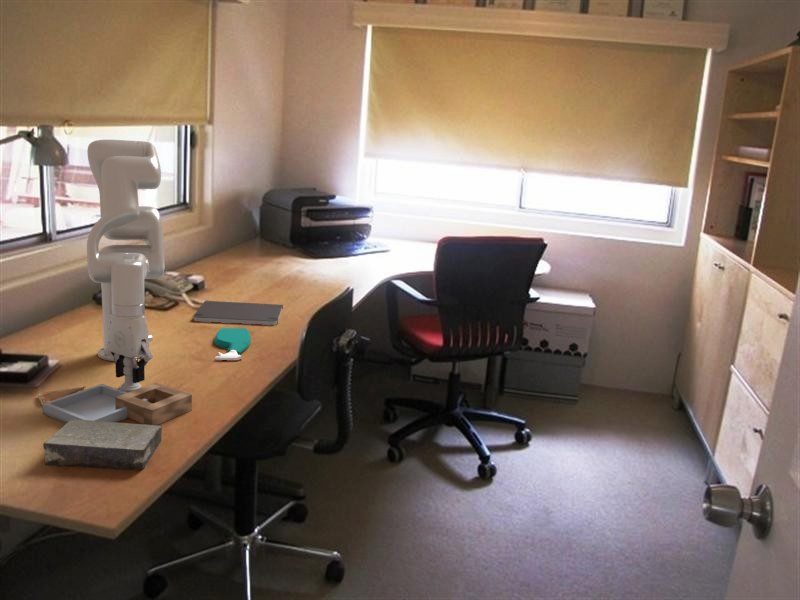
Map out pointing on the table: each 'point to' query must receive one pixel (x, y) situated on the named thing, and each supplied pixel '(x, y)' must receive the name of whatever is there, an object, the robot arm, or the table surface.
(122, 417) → the tray
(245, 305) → the notebook
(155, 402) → the square wooden frame
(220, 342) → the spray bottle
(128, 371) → the chess piece
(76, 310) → the table surface
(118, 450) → the stone block
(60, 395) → the shard
